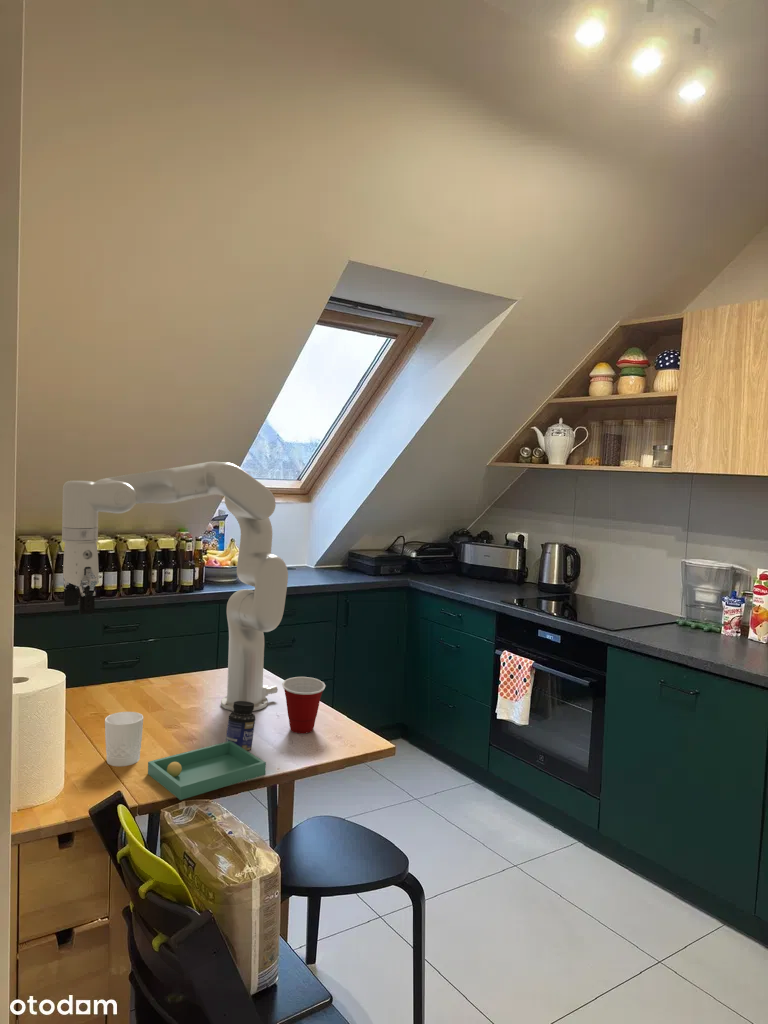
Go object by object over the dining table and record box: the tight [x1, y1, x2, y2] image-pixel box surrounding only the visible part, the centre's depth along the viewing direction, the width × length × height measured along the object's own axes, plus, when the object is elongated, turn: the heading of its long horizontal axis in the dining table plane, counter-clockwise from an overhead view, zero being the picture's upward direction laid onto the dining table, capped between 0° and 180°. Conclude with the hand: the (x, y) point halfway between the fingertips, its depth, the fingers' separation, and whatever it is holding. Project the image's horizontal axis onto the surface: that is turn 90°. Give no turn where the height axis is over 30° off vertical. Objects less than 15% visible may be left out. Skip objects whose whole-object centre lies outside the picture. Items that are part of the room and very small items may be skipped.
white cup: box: [104, 711, 144, 767], centre depth 159 cm, size 8×8×10 cm
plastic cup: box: [281, 676, 326, 735], centre depth 183 cm, size 11×11×12 cm
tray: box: [147, 741, 267, 801], centre depth 154 cm, size 20×15×3 cm
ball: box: [167, 762, 182, 777], centre depth 152 cm, size 3×3×3 cm
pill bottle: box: [224, 701, 256, 752], centre depth 169 cm, size 6×6×11 cm
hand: (78, 609), depth 167 cm, fingers open, 9 cm apart
